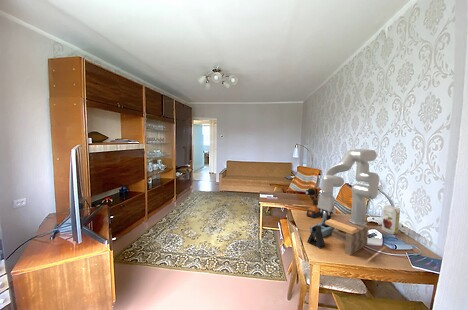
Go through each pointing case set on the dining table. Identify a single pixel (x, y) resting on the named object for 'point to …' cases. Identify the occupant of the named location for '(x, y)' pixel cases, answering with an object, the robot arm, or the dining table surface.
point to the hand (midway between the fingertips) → (325, 218)
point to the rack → (324, 229)
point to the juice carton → (390, 219)
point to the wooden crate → (352, 238)
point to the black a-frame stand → (319, 237)
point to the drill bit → (324, 218)
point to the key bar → (341, 226)
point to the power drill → (313, 210)
